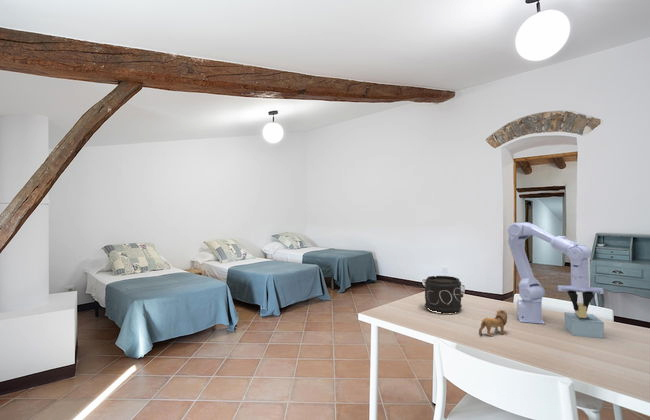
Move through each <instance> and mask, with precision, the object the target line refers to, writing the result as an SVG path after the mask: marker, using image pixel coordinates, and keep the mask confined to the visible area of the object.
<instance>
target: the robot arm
mask: <svg viewBox="0 0 650 420" xmlns="http://www.w3.org/2000/svg"><path fill="white" fill-rule="evenodd" d="M507 233H508V241H507V242H508V246H509V249H510V252H511V255H512V258H513V260H514V264H515V267H516V270H517V273H518V276H519V278H520V281H519V283H518V285H517V286H518V288H519V290H518V291H519V292H518V293H519V297H520V299H517V301H516V306H517V307H516V309H517V311H516V312H517V313H516V315H517V319H518V321H519V322H520V323H531V324H544V325H545V323H546V322H545V321H544V320H543V307H542V306H543V305H542V303H543V302H542V301H543V298H544V297H545V295H546V291H545V289H544V287H543V286H542V285H541V283H540V281H539V280H538V279H537V278H535V276H534V273H533V270H532V267H531V265H530V261H529V259H528V256H527V253H526V249H525V247H524V242H525V241H526V240H527V239H528V238H529V237H530V236H533V237H537V238H538V239H540V240H543V241H545V242H547V243H549V244H550V245H551V247H552V249H554V250H557V251H558V252H561V253H562V254H564V255H566V256H567V257H568V259H569V260H570V285H557V291H558V292H567V295H568V296H569V299H570V300H571V304H572V306H573V310H574V312H575V311H577V309H578V306H577V303H578V296H579V295H578V294H577V293H582V294H581V295H582V300H583V301H582V303H583V304H584V305H585V306H586V309H587V310H588V309H589V306H590V303H591V301H592V300H593V298H594V296H595V295H594V294H600V295H604V288H603V287H595V286H590V273H589V272H590V271H589V267H590V265H589V259H590V258H591V257H592V250H591V249H590V247H588V246H586V245H585V244H579V243H578V242H577V241H576V242H575V241H572V240H570V239H568V238H567V236H566V235H562V236H561V235H557V236H555V235H553V234H551V233H549V232H547V231H546V230H544V229H542V228H540V227H539V226H537V225H536V224H534V223H531V222H529V221H525V222H513V223H511V224H510V225H509V226H508V228H507Z"/></svg>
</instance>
